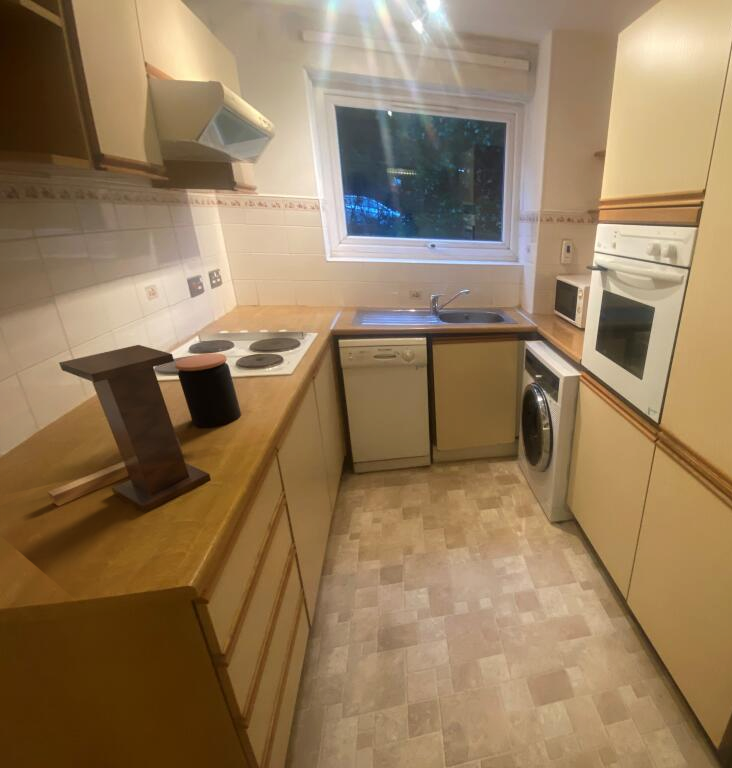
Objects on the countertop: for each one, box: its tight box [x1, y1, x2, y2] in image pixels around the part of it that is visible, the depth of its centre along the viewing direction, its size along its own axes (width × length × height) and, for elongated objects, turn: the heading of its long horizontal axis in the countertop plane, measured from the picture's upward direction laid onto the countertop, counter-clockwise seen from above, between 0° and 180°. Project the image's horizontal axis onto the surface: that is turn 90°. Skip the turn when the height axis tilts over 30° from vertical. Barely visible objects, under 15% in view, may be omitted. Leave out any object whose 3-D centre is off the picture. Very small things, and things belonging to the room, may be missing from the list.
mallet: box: [47, 438, 185, 507], centre depth 91 cm, size 21×8×5 cm, turn 153°
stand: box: [58, 344, 212, 513], centre depth 84 cm, size 12×12×28 cm
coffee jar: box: [174, 352, 242, 429], centre depth 111 cm, size 11×11×18 cm
